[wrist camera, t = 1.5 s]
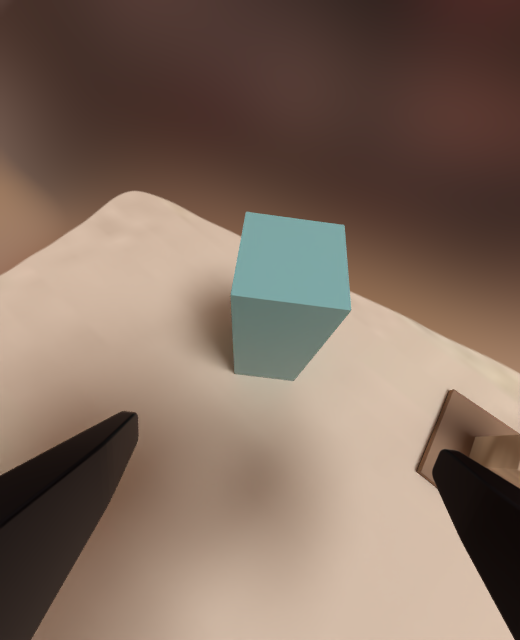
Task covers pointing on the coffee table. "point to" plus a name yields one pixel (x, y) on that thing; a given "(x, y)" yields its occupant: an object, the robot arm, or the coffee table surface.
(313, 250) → the teal square pillar
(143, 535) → the coffee table surface
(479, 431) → the brown square base plate
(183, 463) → the coffee table surface
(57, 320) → the coffee table surface
